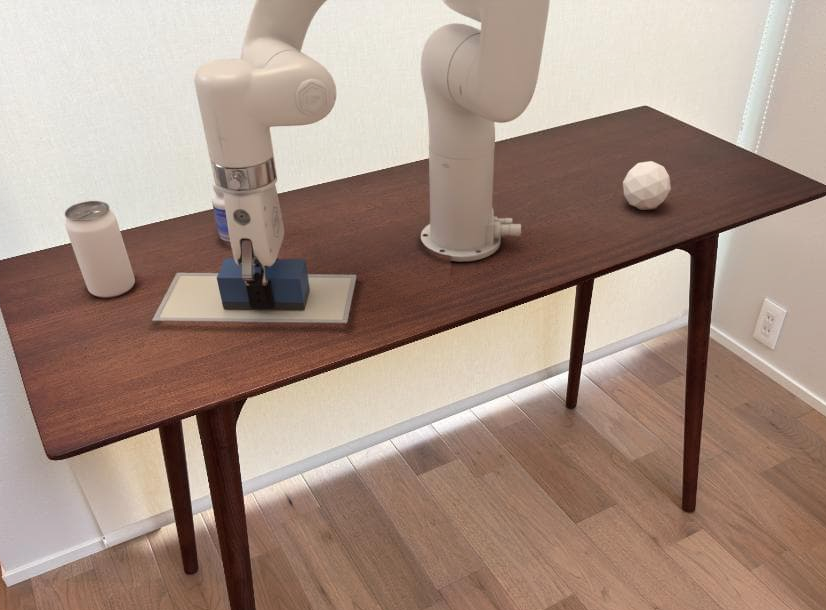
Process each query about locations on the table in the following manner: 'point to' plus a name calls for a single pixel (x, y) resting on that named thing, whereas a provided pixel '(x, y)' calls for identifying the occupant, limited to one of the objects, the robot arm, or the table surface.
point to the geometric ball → (646, 185)
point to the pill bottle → (220, 213)
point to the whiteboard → (202, 303)
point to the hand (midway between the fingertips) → (266, 294)
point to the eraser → (285, 283)
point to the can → (99, 249)
